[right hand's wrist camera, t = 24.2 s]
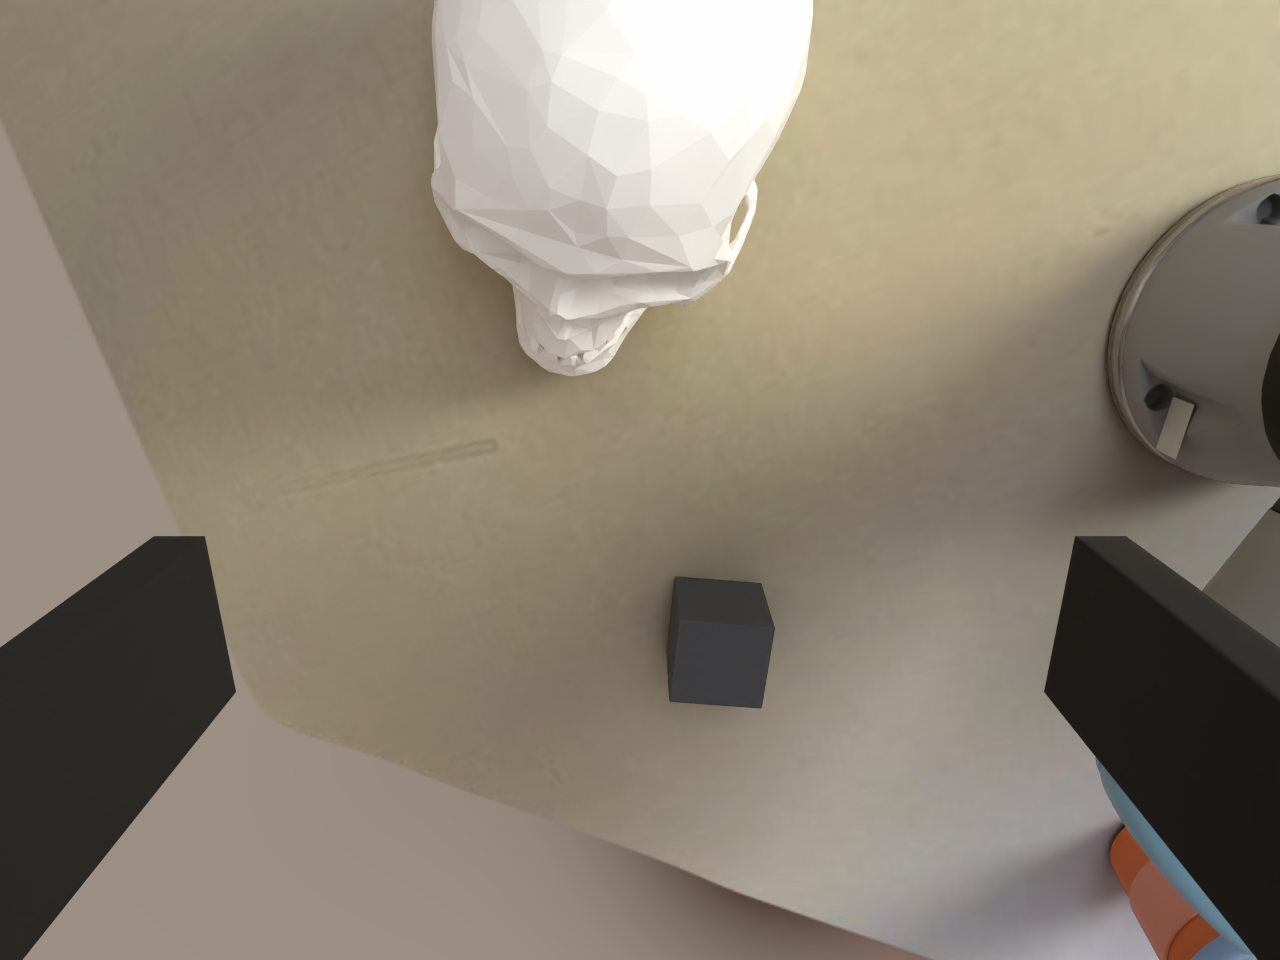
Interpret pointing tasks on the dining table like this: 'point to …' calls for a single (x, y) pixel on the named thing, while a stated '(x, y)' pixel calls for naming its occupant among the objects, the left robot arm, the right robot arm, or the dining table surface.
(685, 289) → the skull
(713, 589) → the grey rubber block
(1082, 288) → the dining table surface
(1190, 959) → the cup with straw
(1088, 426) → the dining table surface
